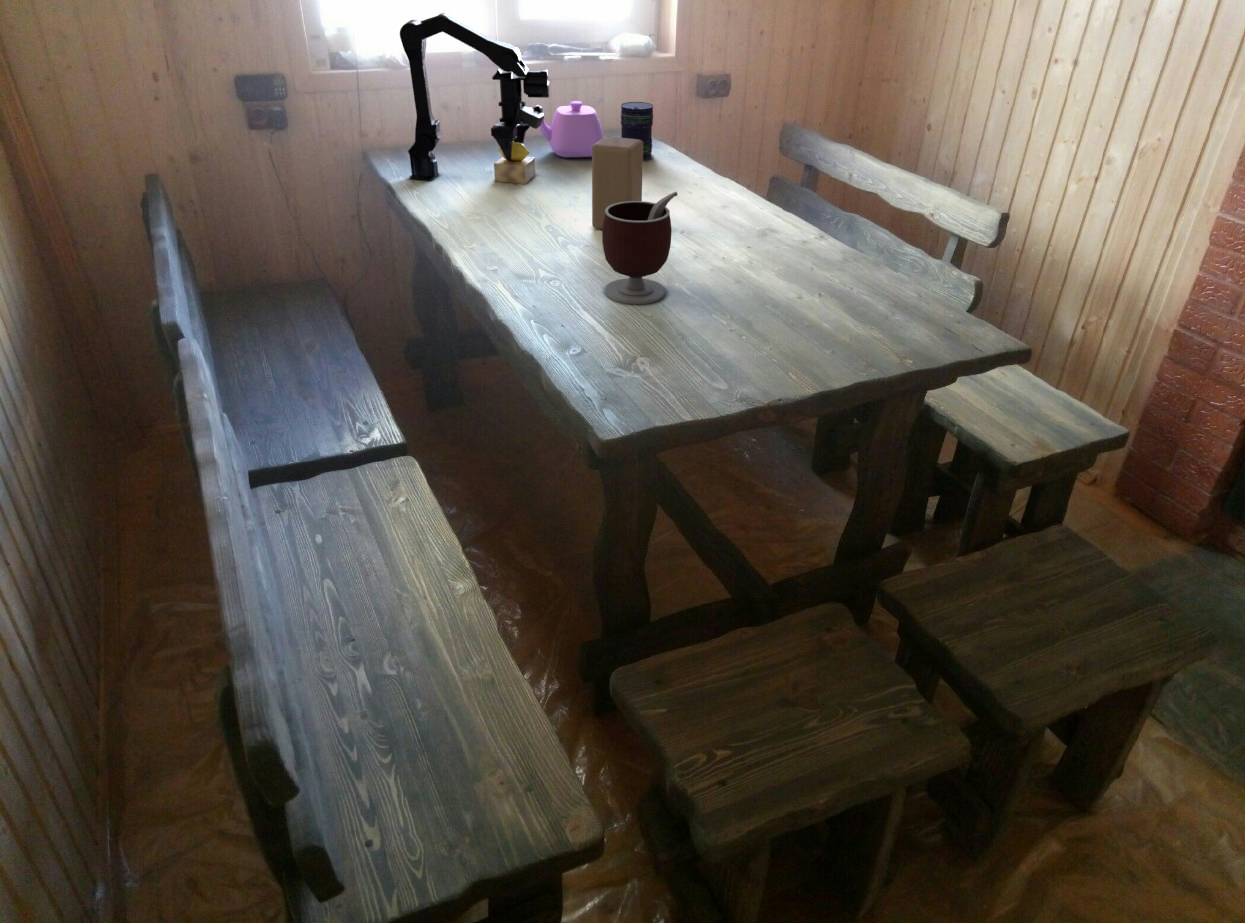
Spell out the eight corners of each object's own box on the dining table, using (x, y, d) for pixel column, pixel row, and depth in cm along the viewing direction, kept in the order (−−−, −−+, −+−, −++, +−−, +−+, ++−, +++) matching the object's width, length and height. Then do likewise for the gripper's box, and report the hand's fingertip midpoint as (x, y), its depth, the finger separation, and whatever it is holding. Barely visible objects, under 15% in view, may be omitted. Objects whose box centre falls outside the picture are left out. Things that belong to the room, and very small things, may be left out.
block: (642, 221, 219) (644, 139, 208) (629, 234, 211) (631, 149, 200) (604, 216, 222) (605, 134, 211) (590, 229, 214) (590, 144, 203)
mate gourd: (617, 310, 175) (619, 211, 164) (591, 284, 185) (591, 190, 174) (687, 298, 180) (692, 201, 169) (658, 274, 191) (661, 182, 179)
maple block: (494, 181, 246) (493, 163, 243) (505, 172, 253) (504, 154, 250) (525, 184, 244) (524, 165, 241) (535, 175, 251) (534, 157, 248)
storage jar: (622, 151, 274) (623, 101, 266) (653, 153, 273) (655, 102, 265) (617, 160, 266) (618, 108, 257) (649, 161, 265) (651, 109, 256)
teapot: (597, 142, 283) (597, 92, 274) (607, 160, 265) (607, 107, 257) (527, 144, 279) (524, 94, 271) (532, 162, 262) (529, 109, 254)
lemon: (496, 161, 245) (495, 143, 242) (502, 156, 248) (501, 139, 246) (527, 163, 243) (526, 146, 240) (532, 159, 247) (531, 141, 244)
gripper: (529, 106, 227) (531, 167, 236) (550, 92, 242) (551, 150, 251) (488, 103, 229) (492, 164, 238) (511, 89, 244) (514, 147, 253)
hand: (514, 156), depth 245 cm, fingers open, 9 cm apart
